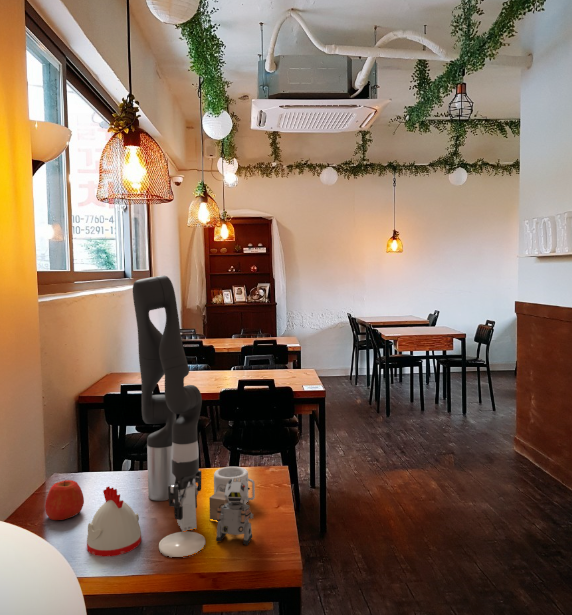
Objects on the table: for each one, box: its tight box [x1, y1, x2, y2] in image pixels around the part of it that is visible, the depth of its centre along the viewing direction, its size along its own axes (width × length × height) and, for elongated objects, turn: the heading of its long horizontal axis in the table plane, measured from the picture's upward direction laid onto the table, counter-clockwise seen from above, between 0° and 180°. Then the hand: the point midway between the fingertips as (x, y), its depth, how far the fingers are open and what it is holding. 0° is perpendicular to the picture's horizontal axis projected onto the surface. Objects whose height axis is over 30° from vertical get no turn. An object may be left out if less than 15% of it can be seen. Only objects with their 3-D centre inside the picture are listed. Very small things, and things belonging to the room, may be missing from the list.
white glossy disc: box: [158, 531, 206, 558], centre depth 140 cm, size 12×12×1 cm
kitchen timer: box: [86, 486, 142, 557], centre depth 142 cm, size 14×14×15 cm
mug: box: [213, 466, 256, 505], centre depth 166 cm, size 14×11×10 cm
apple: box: [44, 479, 85, 521], centre depth 158 cm, size 11×11×11 cm
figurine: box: [215, 478, 254, 546], centre depth 144 cm, size 9×12×15 cm
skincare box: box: [176, 484, 198, 532], centre depth 151 cm, size 6×4×12 cm
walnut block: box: [209, 491, 228, 520], centre depth 156 cm, size 5×5×7 cm
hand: (185, 513), depth 151 cm, fingers closed on skincare box, 7 cm apart
